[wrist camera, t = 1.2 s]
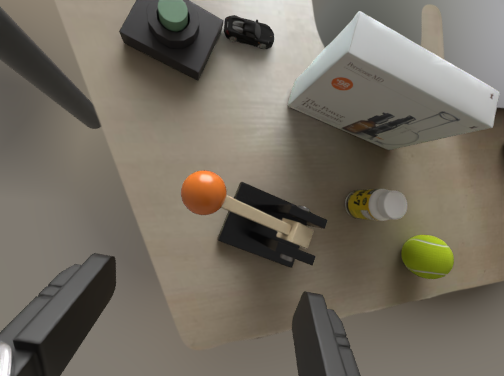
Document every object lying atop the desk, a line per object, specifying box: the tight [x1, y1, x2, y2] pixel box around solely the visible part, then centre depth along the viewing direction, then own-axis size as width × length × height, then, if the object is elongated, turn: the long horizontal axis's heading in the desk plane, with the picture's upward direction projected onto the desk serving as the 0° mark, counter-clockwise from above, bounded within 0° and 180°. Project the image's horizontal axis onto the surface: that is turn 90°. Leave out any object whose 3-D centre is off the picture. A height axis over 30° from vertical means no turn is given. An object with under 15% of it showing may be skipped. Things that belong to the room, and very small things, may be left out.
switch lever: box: [181, 170, 314, 249], centre depth 23 cm, size 15×4×4 cm, turn 68°
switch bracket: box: [218, 182, 327, 268], centre depth 31 cm, size 12×9×13 cm
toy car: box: [224, 15, 274, 49], centre depth 38 cm, size 8×3×2 cm, turn 86°
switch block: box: [119, 0, 223, 80], centre depth 34 cm, size 11×9×4 cm
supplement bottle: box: [345, 189, 407, 221], centre depth 38 cm, size 5×5×8 cm
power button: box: [158, 0, 188, 32], centre depth 31 cm, size 4×4×2 cm
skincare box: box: [288, 12, 500, 150], centre depth 35 cm, size 21×6×16 cm, turn 73°
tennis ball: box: [401, 235, 454, 279], centre depth 40 cm, size 7×7×7 cm
